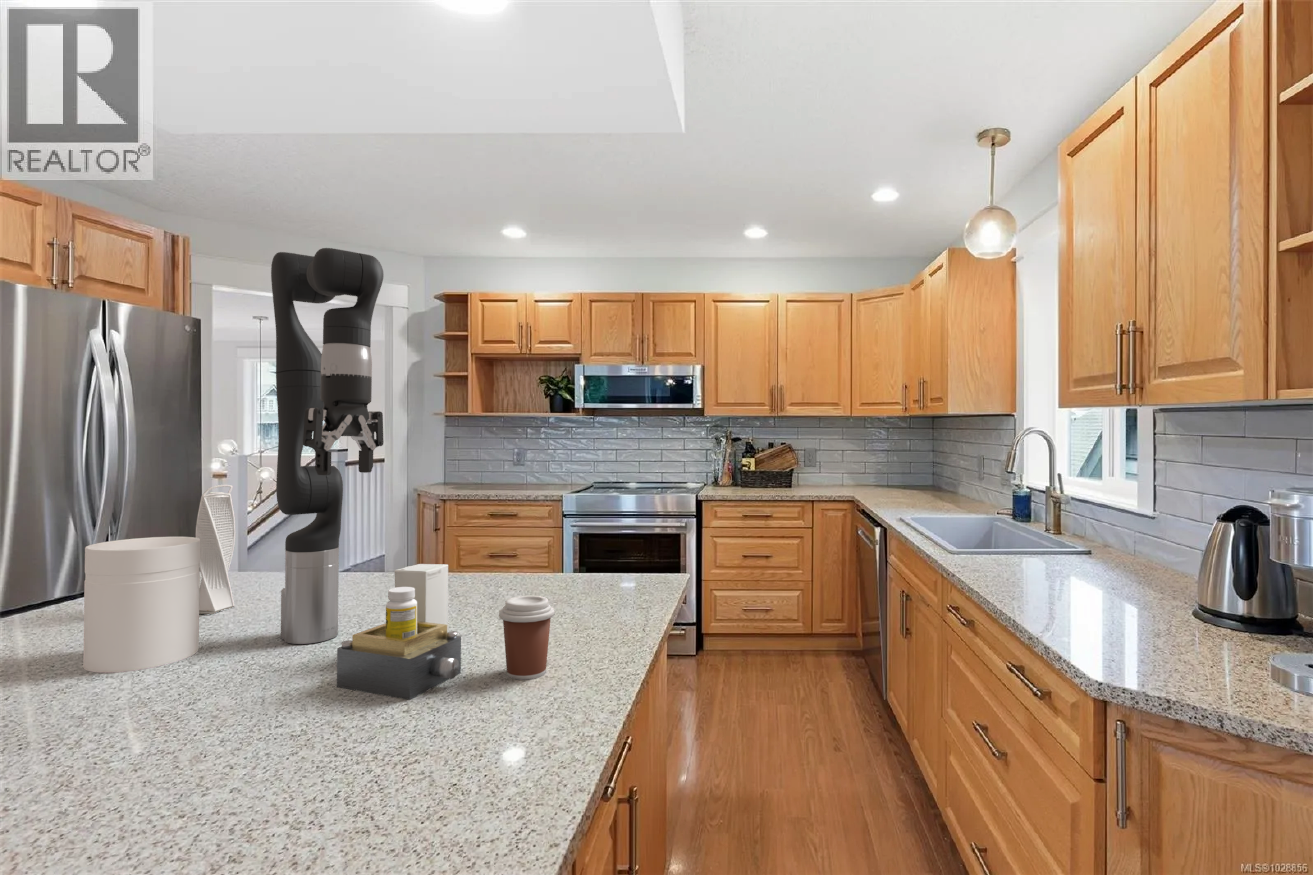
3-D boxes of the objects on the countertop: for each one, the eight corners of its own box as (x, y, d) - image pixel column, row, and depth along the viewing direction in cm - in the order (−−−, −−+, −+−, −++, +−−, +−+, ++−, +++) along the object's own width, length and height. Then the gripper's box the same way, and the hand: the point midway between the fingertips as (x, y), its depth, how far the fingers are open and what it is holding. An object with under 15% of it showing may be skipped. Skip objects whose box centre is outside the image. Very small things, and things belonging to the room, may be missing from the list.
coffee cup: (506, 686, 102) (506, 609, 102) (492, 668, 110) (492, 597, 110) (561, 677, 106) (562, 603, 106) (544, 660, 114) (545, 591, 114)
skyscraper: (212, 604, 152) (213, 484, 152) (243, 606, 151) (245, 484, 151) (181, 613, 143) (182, 486, 144) (214, 615, 142) (215, 486, 143)
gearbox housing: (336, 687, 101) (337, 635, 101) (392, 662, 112) (393, 616, 113) (426, 702, 95) (427, 647, 95) (476, 675, 107) (476, 626, 107)
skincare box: (424, 662, 113) (425, 572, 113) (390, 659, 114) (391, 570, 114) (449, 647, 121) (450, 563, 121) (417, 645, 123) (418, 561, 123)
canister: (218, 650, 119) (220, 540, 119) (115, 678, 104) (117, 553, 104) (166, 638, 126) (167, 534, 126) (62, 664, 111) (64, 546, 111)
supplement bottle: (391, 637, 107) (391, 586, 107) (420, 637, 107) (421, 585, 107) (381, 646, 102) (381, 592, 102) (412, 646, 102) (412, 592, 103)
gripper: (361, 378, 114) (360, 471, 114) (291, 370, 101) (289, 475, 101) (396, 377, 112) (395, 472, 112) (328, 368, 98) (327, 476, 98)
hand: (345, 473), depth 106 cm, fingers open, 8 cm apart
